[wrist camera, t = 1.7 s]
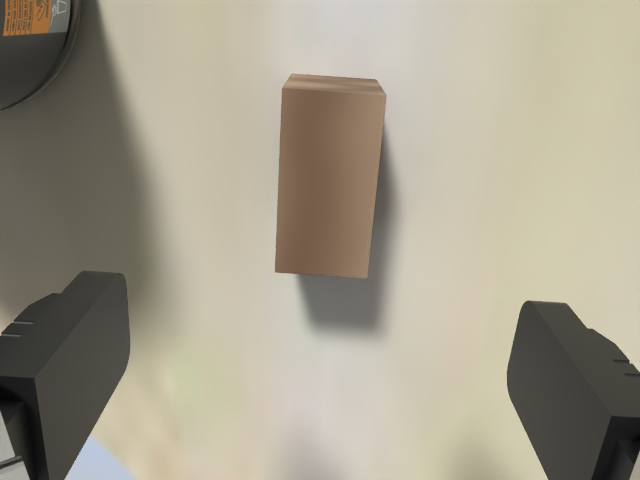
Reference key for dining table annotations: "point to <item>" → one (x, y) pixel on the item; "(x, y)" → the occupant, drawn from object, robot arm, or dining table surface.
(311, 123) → the block
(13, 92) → the supplement container
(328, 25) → the dining table surface
